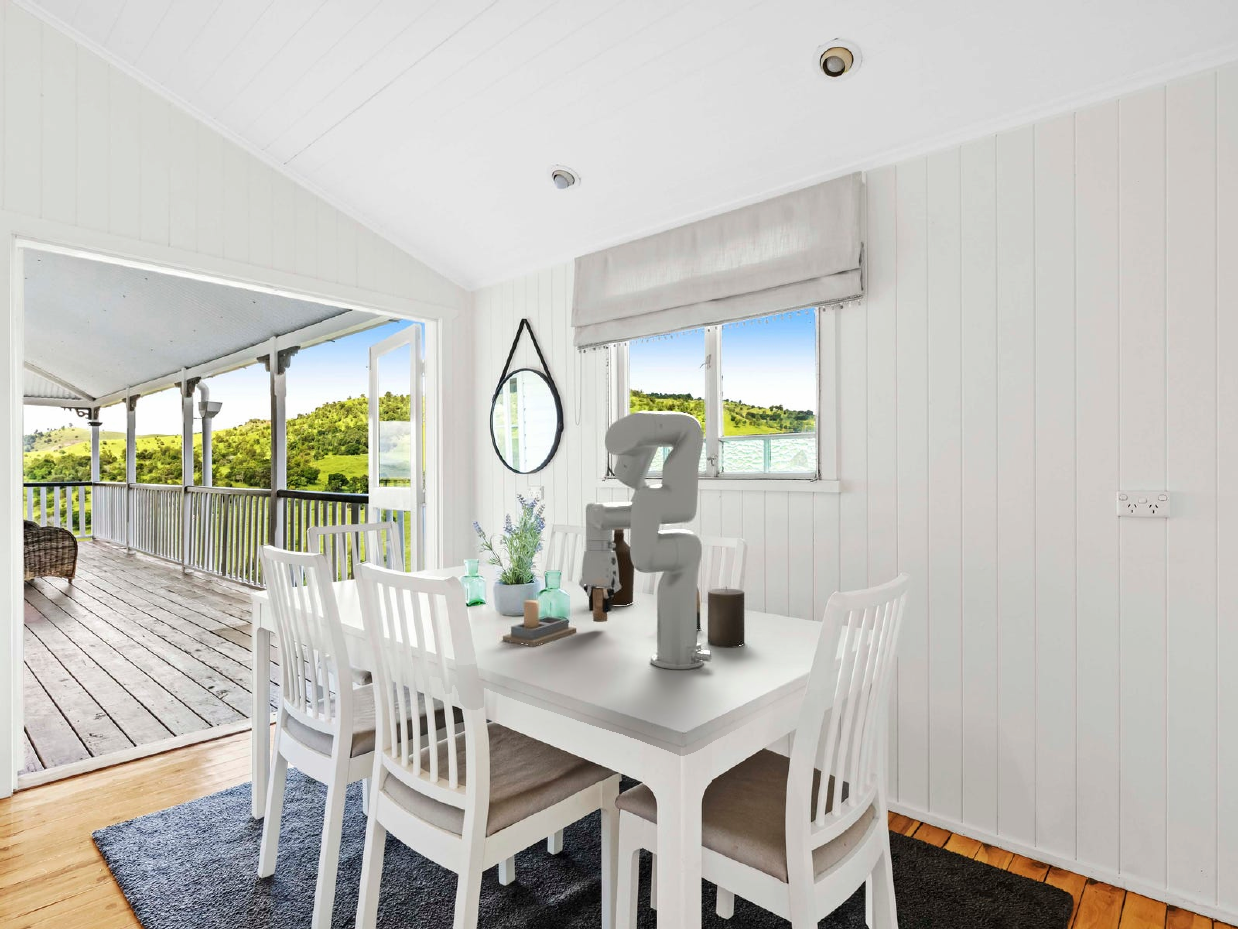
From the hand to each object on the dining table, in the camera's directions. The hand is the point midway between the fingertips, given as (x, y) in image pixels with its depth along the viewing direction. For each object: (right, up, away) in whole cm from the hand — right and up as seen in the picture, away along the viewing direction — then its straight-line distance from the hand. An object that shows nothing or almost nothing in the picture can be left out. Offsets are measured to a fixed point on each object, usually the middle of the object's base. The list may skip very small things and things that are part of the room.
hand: (600, 610), depth 202 cm
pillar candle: (+34, -6, -13) cm, 37 cm away
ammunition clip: (+23, -6, +2) cm, 24 cm away
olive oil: (+5, -5, +36) cm, 37 cm away
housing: (-16, -6, -7) cm, 18 cm away
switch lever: (0, -3, 0) cm, 3 cm away
